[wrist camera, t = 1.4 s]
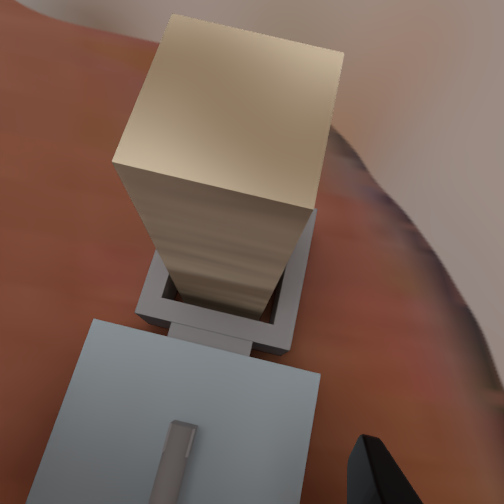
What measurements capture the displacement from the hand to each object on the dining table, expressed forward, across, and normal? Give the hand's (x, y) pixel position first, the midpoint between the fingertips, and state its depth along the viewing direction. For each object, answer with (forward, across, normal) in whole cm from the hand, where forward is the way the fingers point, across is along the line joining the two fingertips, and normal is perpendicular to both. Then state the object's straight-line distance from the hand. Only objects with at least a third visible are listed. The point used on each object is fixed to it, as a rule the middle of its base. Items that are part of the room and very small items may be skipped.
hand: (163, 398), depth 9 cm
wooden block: (+14, 0, +4) cm, 14 cm away
